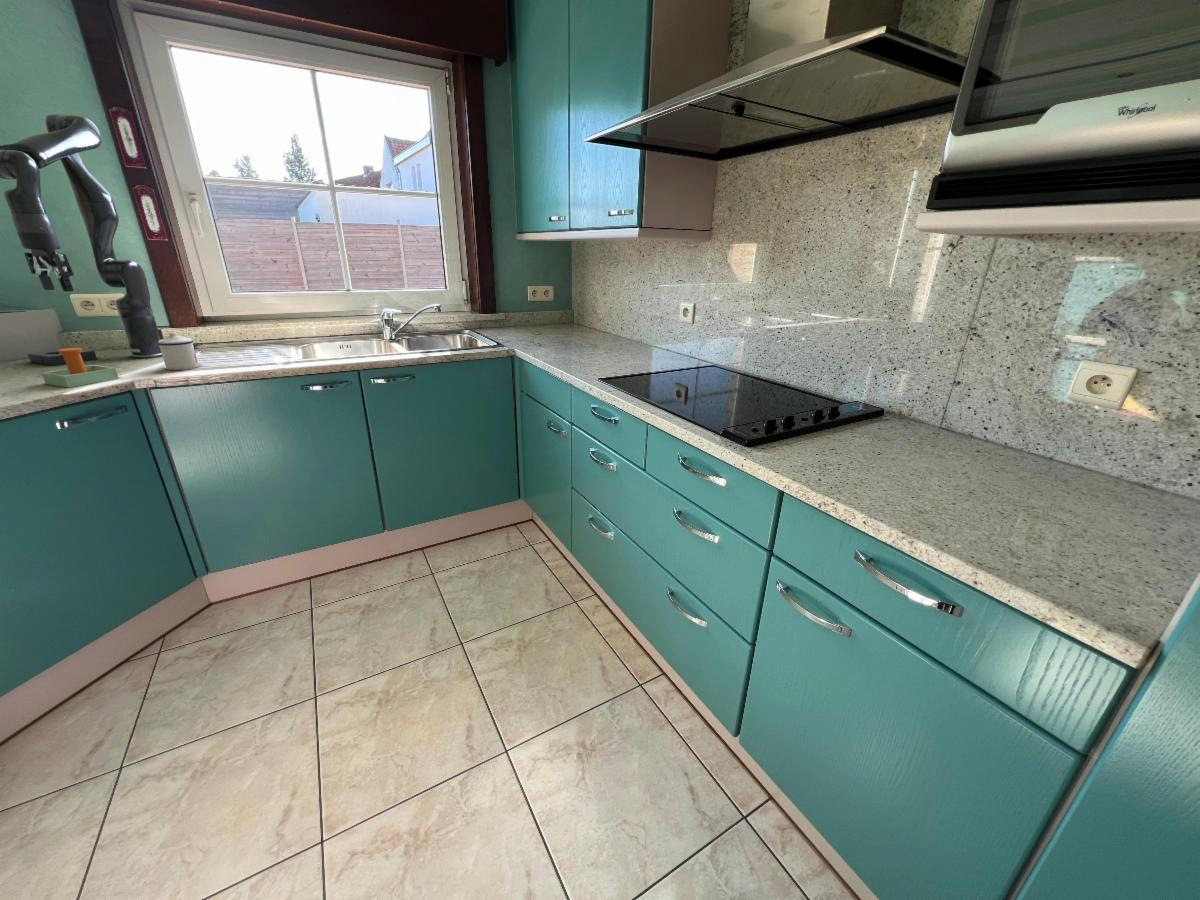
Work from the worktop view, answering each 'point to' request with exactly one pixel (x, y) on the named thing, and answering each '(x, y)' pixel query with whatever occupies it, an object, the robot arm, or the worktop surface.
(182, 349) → the teacup with lid
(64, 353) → the plug
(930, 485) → the worktop surface
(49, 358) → the drain plate
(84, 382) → the tray
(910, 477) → the worktop surface
